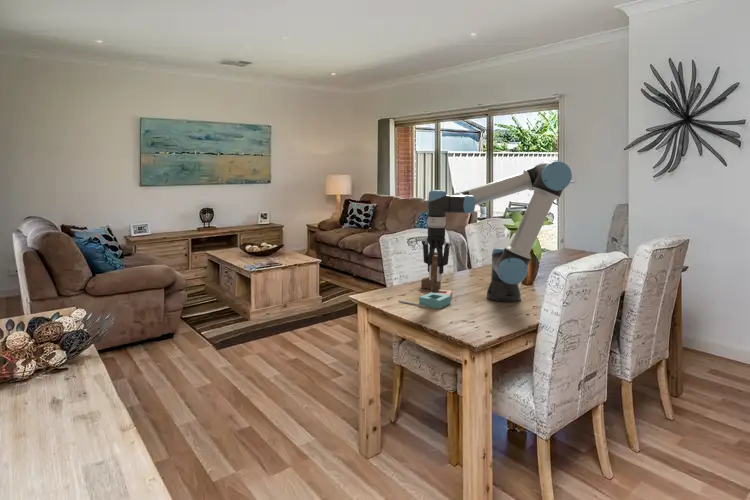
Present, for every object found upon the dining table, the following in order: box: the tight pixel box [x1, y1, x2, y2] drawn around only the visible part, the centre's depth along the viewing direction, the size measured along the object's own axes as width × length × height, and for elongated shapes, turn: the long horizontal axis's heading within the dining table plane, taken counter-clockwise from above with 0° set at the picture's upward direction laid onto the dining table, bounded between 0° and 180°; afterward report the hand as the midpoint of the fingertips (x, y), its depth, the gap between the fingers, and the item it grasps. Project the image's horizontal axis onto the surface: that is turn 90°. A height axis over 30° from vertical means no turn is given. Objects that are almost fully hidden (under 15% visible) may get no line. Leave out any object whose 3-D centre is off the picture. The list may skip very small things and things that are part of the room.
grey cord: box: [398, 299, 427, 308], centre depth 216 cm, size 14×1×1 cm, turn 54°
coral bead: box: [437, 289, 453, 299], centre depth 225 cm, size 8×8×3 cm
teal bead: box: [418, 291, 452, 309], centre depth 216 cm, size 10×10×4 cm
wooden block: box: [420, 251, 442, 290], centre depth 243 cm, size 9×4×18 cm, turn 74°
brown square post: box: [430, 255, 440, 293], centre depth 214 cm, size 3×3×16 cm
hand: (435, 280), depth 214 cm, fingers closed on brown square post, 3 cm apart
